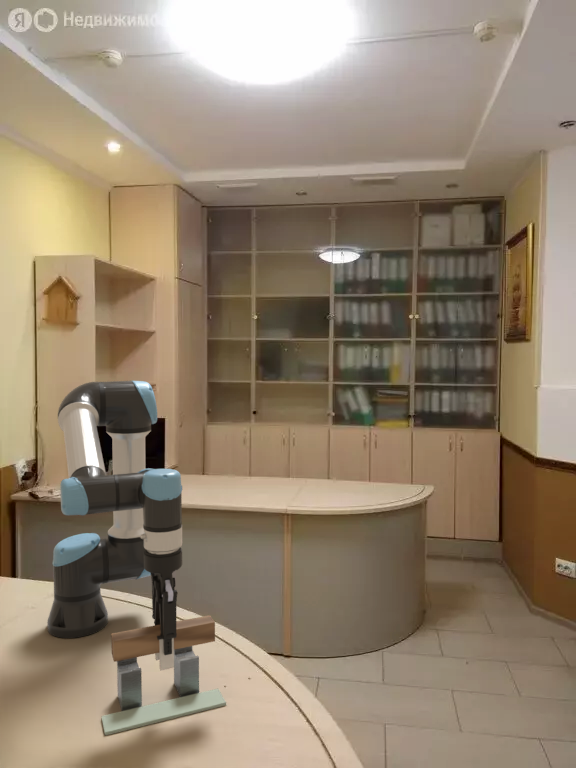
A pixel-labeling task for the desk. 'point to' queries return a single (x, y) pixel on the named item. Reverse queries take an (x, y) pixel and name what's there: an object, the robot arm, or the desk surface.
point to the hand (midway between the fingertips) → (164, 662)
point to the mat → (162, 711)
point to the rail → (147, 643)
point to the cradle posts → (132, 682)
